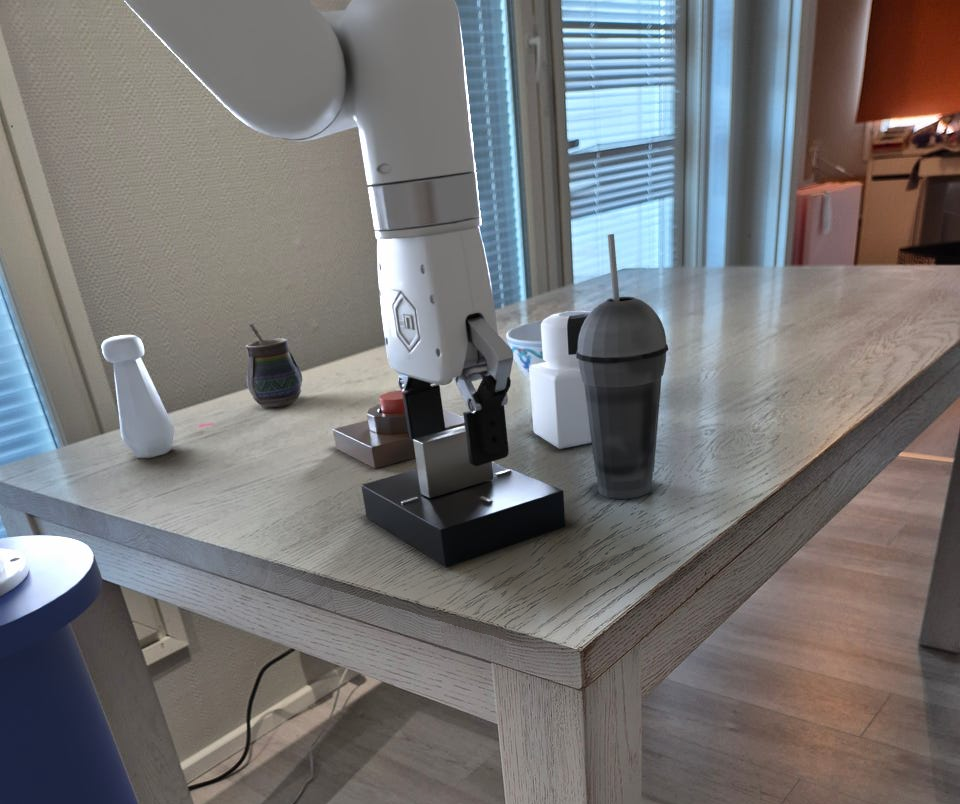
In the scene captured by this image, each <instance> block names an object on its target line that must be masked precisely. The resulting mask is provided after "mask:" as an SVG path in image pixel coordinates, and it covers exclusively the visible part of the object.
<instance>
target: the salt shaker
mask: <svg viewBox="0 0 960 804" xmlns="http://www.w3.org/2000/svg"><path fill="white" fill-rule="evenodd" d="M101 352H102V355H103V358H104V359H105V361H107V362H109V363H112V364H113V374H114V383H115V384H114V385H115V394H116V400H117V401H116V402H117V411H118V412H117V413H118V420H119V430H120V437H121V439H122V441H123V443H124V444H125V445H126V446H127V447H128V448H129V449H130V450H131V451H132V453H133V454H134V456H135V457H136V458H141V459H142V458H149V459H150V458H154V457H158V456H161V455H165V454H167V453H169V452H170V451H171V450H173V445H174V444H173V443H174V436H175V435H174V434H175V428H174V425H173V422H172V420H171V419H170V416H169V414H168V412H167V410H166V407H165V405H164V404H163V401H162V399H161V397H160V395H159V393H158V391H157V389H156V386H155V385H154V383H153V380H152V378H151V376H150V374H149V372H148V370H147V368H146V365H145V363H144V362H143V360H142V357H143V356H144V355H145V347H144V344H143V341H142V339H141V338H140V337H138V335H135V334H134V335H133V334H123V335H115V336H111V337H109V338H106V339H104V340H103V342H102V343H101Z"/></svg>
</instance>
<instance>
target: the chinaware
mask: <svg viewBox="0 0 960 804" xmlns="http://www.w3.org/2000/svg"><path fill="white" fill-rule="evenodd" d="M543 320H544V319H543ZM543 320H537V321H532V322H528V323H524V324H521V325H518V326H516V327H513V328H511V329H509V330H508V331H507V332H506V334H505V337H506V338H505V339H506V341H507V345H508V346H509V347H510V348H511V349H512V352H513V361H514V363H515V365H516V366H517V368H518V370H519V371H520V372H521V374H523V375H524V376H525V378H526V379H528V380H529V381H530V376H529V367H530V366H531V365H534V364H539V363H545V362H546V361H544V360H543V351H542V336H541V323H542V322H543Z"/></svg>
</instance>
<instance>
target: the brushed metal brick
mask: <svg viewBox="0 0 960 804" xmlns="http://www.w3.org/2000/svg"><path fill="white" fill-rule="evenodd" d="M413 442H414V449H415V456H416V457H415V461H416V469H417V470H418V477H419V484H420V491H421V494H422V495H424V496H426V497H428V498H433V497H437V496H440V495H443V494H447V493H450V492H453V491H457V490H460V489H463V488H467V487H470V486H473V485H477V484H480V483H483V482H486V481H490V480H493V468H492V462H493V461H492V462H489V463H486V464H483V465H479V466H474V465H472V464H470V462H469V456H468V448H467V440H466V432H465V426H461V427H457V428H454V429H450V430H446V431H442V432H439V433H435V434H431V435H427V436H424V437H420V438H416V439H413Z"/></svg>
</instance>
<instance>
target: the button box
mask: <svg viewBox="0 0 960 804" xmlns="http://www.w3.org/2000/svg"><path fill="white" fill-rule="evenodd" d="M443 415H444V422H445V431H446V430H450V429H454V428H457V427H461V426H465V424H464V416H463V415H461V414H457V413H454V412H451V411H448V410H445V409H443ZM366 418H367V420H363V421H359V422H355V423H351V424H348V425H344V426H340V427H335V428H332V433H333V434H332V435H333V438H334V439H333V440H334V444H335V448H336V449H337V450H338V451H340V452H342V453H343V454H346V455H348V456H350V457H352V458H354V459H355V460H358V461H359V462H361V463H363V464H365V465H367V466H369V467H371V468H373V469H379V468H383V467H386V466H390V465H394V464H397V463H401V462H405V461H407V460H411V459H416V456H415V449H414V442H413V440H411V439H410V438H409V433H408V426H407V420H406V414H405V413H398V414H382V413H381V406H380V403H379V404H376V405H375V406H372V407H371V408H370V407H369V409H367V412H366Z"/></svg>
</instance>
